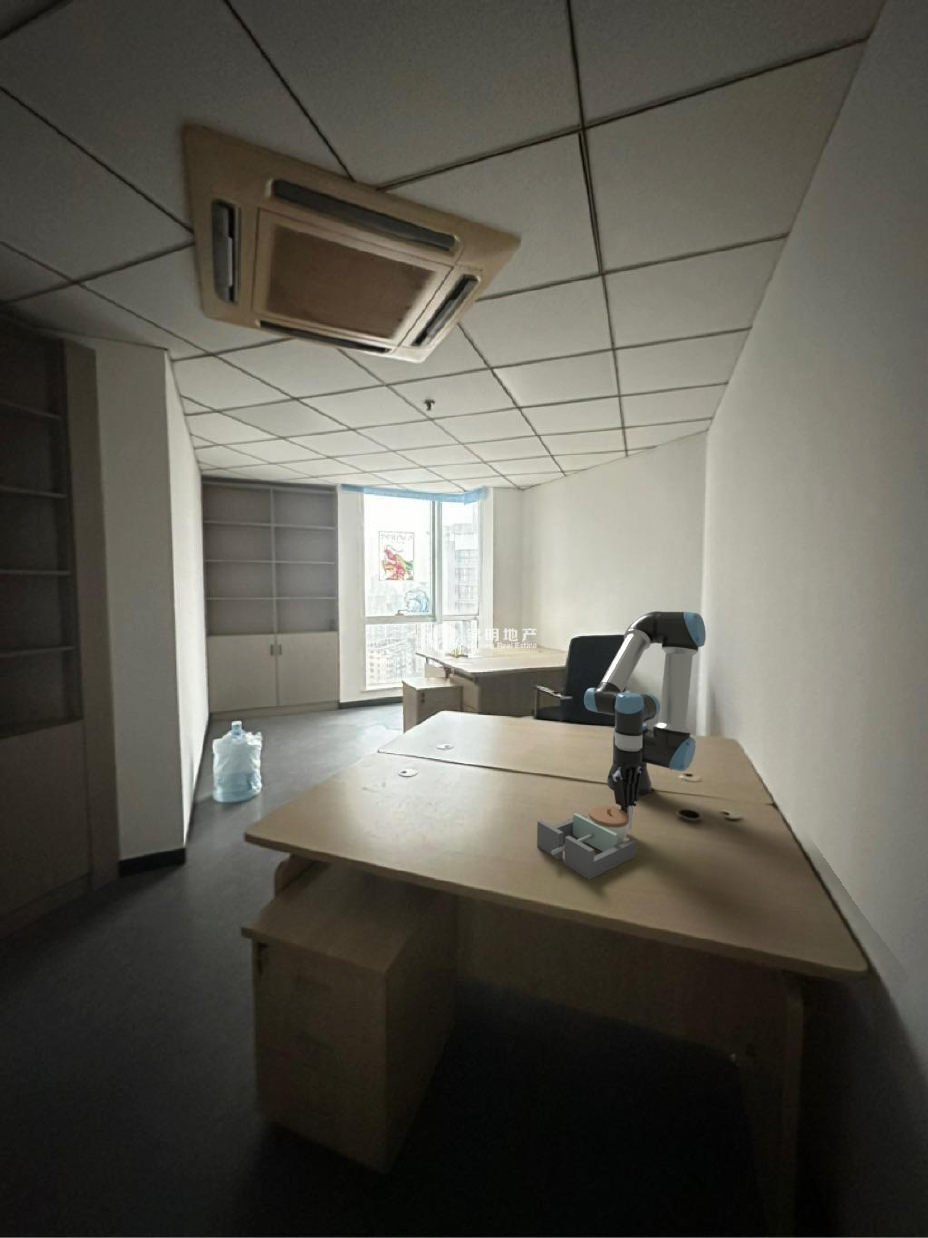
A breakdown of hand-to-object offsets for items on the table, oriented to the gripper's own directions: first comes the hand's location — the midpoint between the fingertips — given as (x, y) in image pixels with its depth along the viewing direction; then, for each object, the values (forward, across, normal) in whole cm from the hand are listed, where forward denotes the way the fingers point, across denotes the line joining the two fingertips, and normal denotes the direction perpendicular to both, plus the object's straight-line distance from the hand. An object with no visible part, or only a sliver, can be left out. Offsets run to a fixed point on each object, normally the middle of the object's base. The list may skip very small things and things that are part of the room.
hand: (626, 827), depth 132 cm
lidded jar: (+2, +8, 0) cm, 8 cm away
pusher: (+1, +22, 0) cm, 22 cm away
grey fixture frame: (+2, +17, 0) cm, 17 cm away
